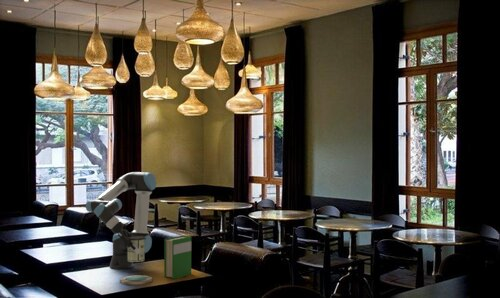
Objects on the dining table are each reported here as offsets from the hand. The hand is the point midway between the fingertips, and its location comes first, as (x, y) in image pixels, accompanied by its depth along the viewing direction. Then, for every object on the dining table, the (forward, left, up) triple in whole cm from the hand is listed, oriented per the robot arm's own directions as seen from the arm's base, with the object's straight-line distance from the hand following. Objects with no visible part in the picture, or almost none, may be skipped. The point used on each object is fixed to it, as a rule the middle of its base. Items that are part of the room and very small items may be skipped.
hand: (141, 251), depth 337 cm
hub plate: (-2, -2, -18) cm, 18 cm away
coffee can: (-2, -3, -6) cm, 6 cm away
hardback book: (-2, +26, -18) cm, 32 cm away
